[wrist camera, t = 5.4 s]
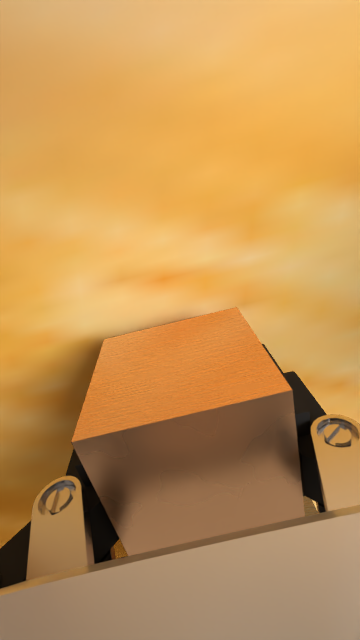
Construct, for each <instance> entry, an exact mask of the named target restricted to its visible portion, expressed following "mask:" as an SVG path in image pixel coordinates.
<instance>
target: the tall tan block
mask: <svg viewBox="0 0 360 640" xmlns="http://www.w3.org/2000/svg"><path fill="white" fill-rule="evenodd" d="M71 443H72V445H73V447H74V449H75V451H76V453H77V455H78V457H79V459H80V461H81V463H82V465H83V467H84V469H85V471H86V473H87V475H88V477H89V479H90V481H91V483H92V485H93V487H94V489H95V491H96V493H97V495H98V497H99V499H100V501H101V503H102V504H103V506H104V508H105V510H106V512H107V514H108V516H109V518H110V520H111V522H112V524H113V526H114V528H115V530H116V532H117V534H118V536H119V538H120V540H121V542H122V544H123V546H124V548H125V550H126V552H127V554H128V556H131V555H135V554H140V553H144V552H148V551H153V550H157V549H161V548H166V547H170V546H174V545H179V544H183V543H188V542H192V541H196V540H201V539H205V538H210V537H214V536H219V535H223V534H227V533H232V532H236V531H241V530H245V529H250V528H254V527H259V526H263V525H268V524H272V523H277V522H281V521H286V520H290V519H295V518H300V517H304V516H305V512H304V502H303V492H302V482H301V472H300V461H299V451H298V441H297V431H296V421H295V411H294V401H293V391H292V389H291V387H290V386H289V384H288V383H287V381H286V380H285V378H284V377H283V375H282V374H281V372H280V371H279V369H278V368H277V366H276V365H275V363H274V362H273V360H272V359H271V357H270V356H269V354H268V353H267V351H266V350H265V348H264V347H263V345H262V344H261V342H260V341H259V339H258V338H257V337H256V335H255V334H254V332H253V331H252V329H251V328H250V326H249V325H248V323H247V322H246V320H245V319H244V317H243V316H242V314H241V313H240V311H239V310H238V308H237V307H235V308H231V309H227V310H223V311H219V312H215V313H211V314H207V315H203V316H198V317H194V318H190V319H186V320H182V321H178V322H174V323H170V324H165V325H161V326H157V327H153V328H149V329H145V330H141V331H137V332H133V333H128V334H124V335H120V336H116V337H112V338H108V339H104V341H103V345H102V348H101V351H100V354H99V357H98V360H97V363H96V366H95V370H94V373H93V376H92V379H91V382H90V385H89V388H88V391H87V394H86V398H85V401H84V404H83V407H82V410H81V413H80V416H79V419H78V422H77V426H76V429H75V432H74V435H73V438H72V441H71Z"/></svg>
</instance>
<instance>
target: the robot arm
mask: <svg viewBox="0 0 360 640" xmlns="http://www.w3.org/2000/svg"><path fill="white" fill-rule="evenodd" d="M262 345H263V347H264V348H265V350H266V351H267V353H268V354H269V356H270V357H271V359H272V360H273V362H274V363H275V365H276V366H277V368H278V369H279V371H280V372H281V374H282V375H283V377H284V378H285V380H286V381H287V383H288V384H289V386H290V387H291V389H292V391H293V401H294V411H295V421H296V431H297V441H298V451H299V461H300V472H301V482H302V492H303V496H306V497H308V498H310V499H312V500H314V501H316V505H317V510H318V514H313V515H309V516H304V517H300V518H295V519H290V520H286V521H281V522H277V523H272V524H268V525H263V526H259V527H254V528H250V529H245V530H241V531H236V532H232V533H227V534H223V535H219V536H214V537H210V538H205V539H201V540H196V541H192V542H188V543H183V544H179V545H174V546H170V547H166V548H161V549H157V550H153V551H148V552H144V553H140V554H135V555H131V556H127V557H122V558H118V559H116V557H115V551H114V547H113V545H114V544H115V543H116V542H117V541H118V540H119V536H118V534H117V532H116V530H115V528H114V526H113V524H112V522H111V520H110V518H109V516H108V514H107V512H106V510H105V508H104V506H103V504H102V503H101V501H100V499H99V497H98V495H97V493H96V491H95V489H94V487H93V485H92V483H91V481H90V479H89V477H88V475H87V473H86V471H85V469H84V467H83V465H82V463H81V461H80V459H79V457H78V455H77V453H76V451H75V449H74V450H73V453H72V456H71V460H70V463H69V466H68V470H67V473H66V476H63V477H60V478H57V479H55V480H54V481H52V482H50V483H49V484H48V485H47V486H45V487H44V488H43V489H42V490H41V492H40V493H39V494H38V496H37V497H36V499H35V501H34V504H33V508H32V519H31V521H30V522H29V523H28V524H27V525H26V526H25V527H24V528H23V529H21V530H20V531H19V532H18V533H17V534H16V535H15V536H14V537H13V538H12V539H11V540H9V541H8V542H7V543H6V544H5V545H4V546H3V547H2V548H1V549H0V640H360V424H359V423H357V422H356V421H355V420H353V419H351V418H349V417H346V416H342V415H334V414H330V415H327V414H326V413H325V412H324V410H323V409H322V408H321V406H320V405H319V404H318V402H317V401H316V400H315V398H314V397H313V396H312V394H311V393H310V392H309V390H308V389H307V388H306V386H305V385H304V384H303V382H302V381H301V380H300V378H299V377H298V376H297V374H296V373H295V372H293V371H291V372H287V373H283V372H282V370H281V369H280V367H279V366H278V364H277V363H276V361H275V360H274V359H273V357H272V356H271V354H270V353H269V351H268V350H267V348H266V347H265V345H264V344H262Z"/></svg>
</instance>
